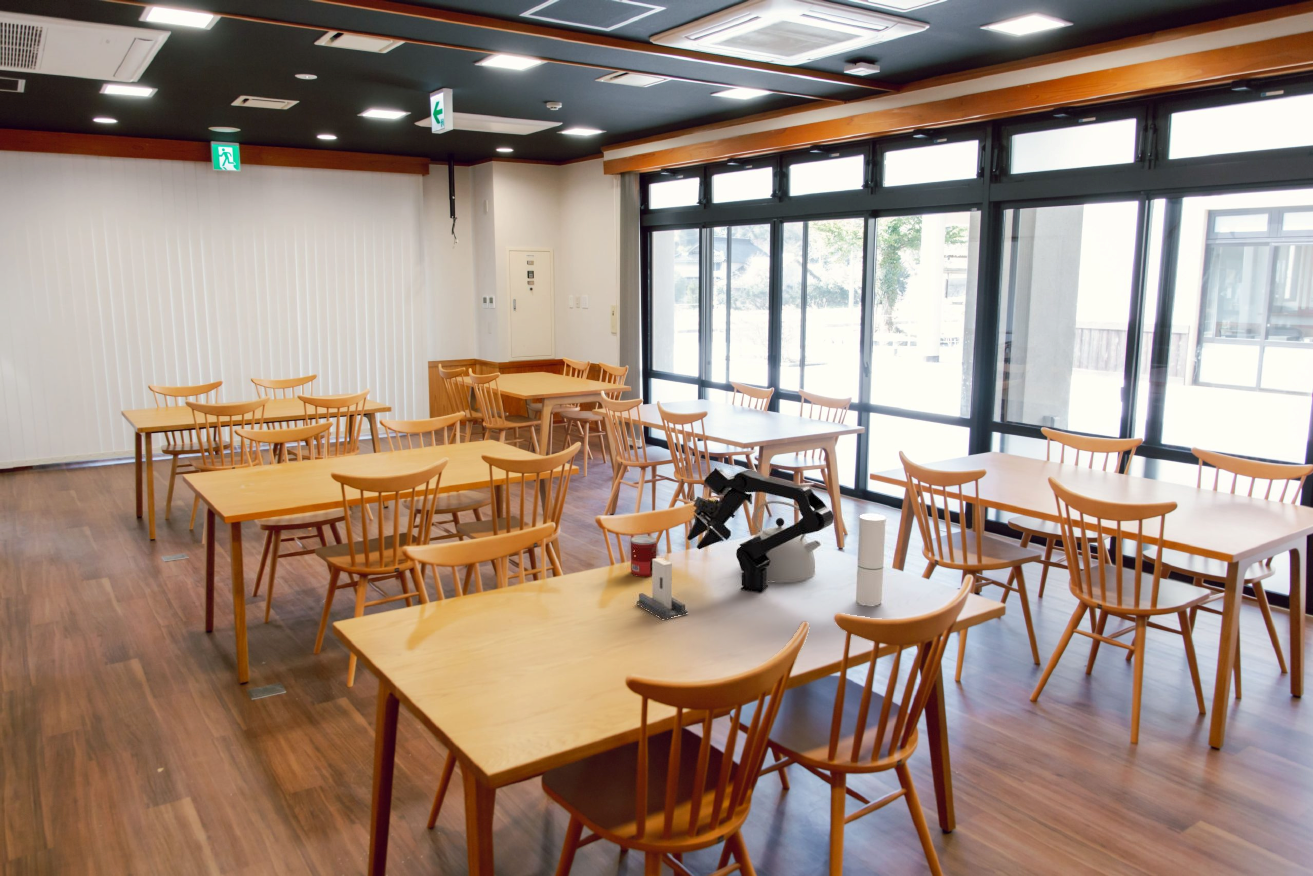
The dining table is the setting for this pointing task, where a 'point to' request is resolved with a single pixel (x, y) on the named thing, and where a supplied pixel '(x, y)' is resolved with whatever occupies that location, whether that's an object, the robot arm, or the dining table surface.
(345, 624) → the dining table surface
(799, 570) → the kettle
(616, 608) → the dining table surface
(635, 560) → the canned food
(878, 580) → the cylindrical container
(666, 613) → the bottom track
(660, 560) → the door panel
